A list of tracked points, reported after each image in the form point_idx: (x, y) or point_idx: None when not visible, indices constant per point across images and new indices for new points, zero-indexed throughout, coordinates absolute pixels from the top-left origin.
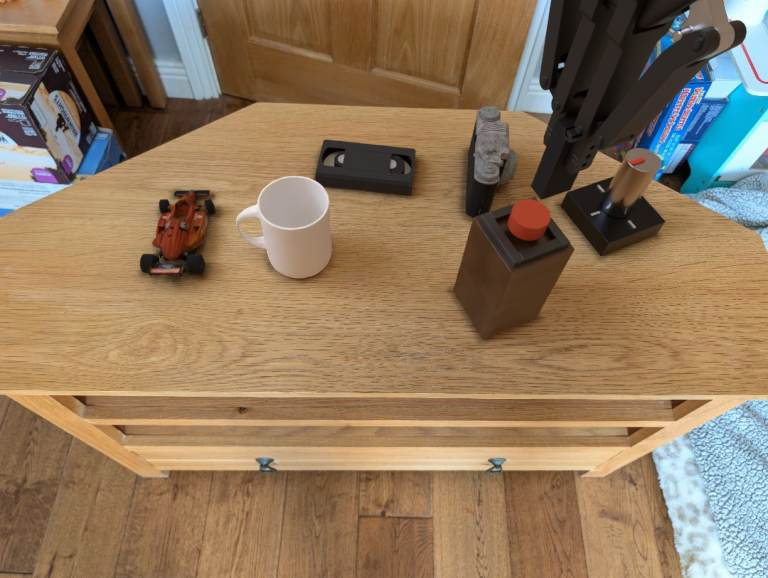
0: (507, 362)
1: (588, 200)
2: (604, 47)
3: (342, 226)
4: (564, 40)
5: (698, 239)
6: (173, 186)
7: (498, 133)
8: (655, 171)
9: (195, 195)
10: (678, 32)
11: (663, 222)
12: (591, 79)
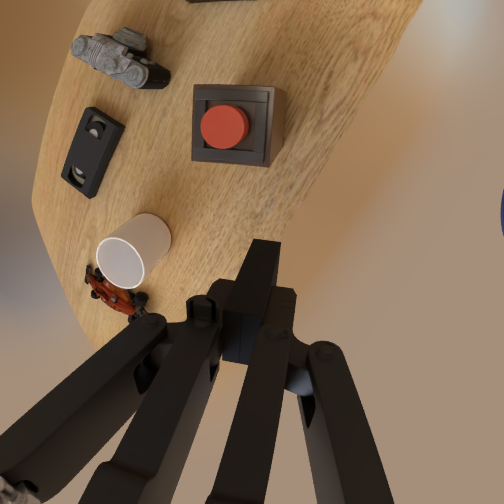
0: (311, 141)
1: None
2: (181, 438)
3: (135, 194)
4: (125, 412)
5: None
6: (81, 279)
7: (101, 52)
8: None
9: (89, 274)
10: None
11: None
12: (203, 383)
